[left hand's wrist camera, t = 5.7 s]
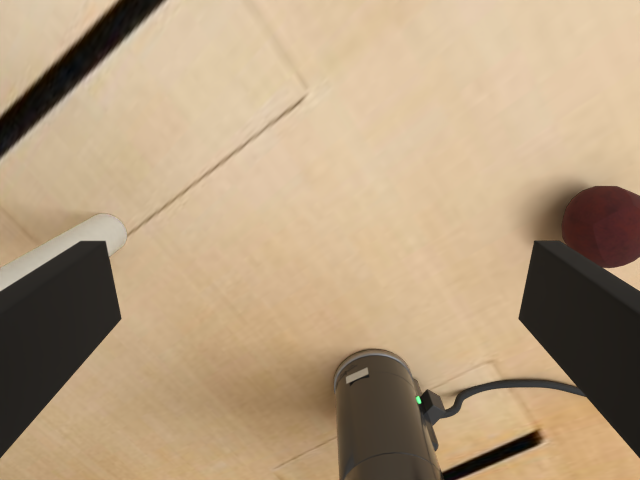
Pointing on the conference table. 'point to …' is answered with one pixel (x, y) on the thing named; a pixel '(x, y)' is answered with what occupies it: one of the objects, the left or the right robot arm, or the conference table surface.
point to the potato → (604, 225)
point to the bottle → (66, 246)
